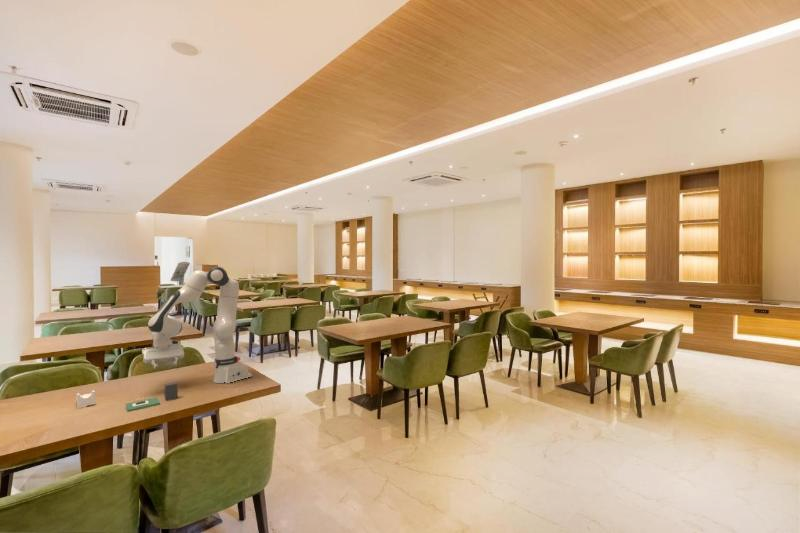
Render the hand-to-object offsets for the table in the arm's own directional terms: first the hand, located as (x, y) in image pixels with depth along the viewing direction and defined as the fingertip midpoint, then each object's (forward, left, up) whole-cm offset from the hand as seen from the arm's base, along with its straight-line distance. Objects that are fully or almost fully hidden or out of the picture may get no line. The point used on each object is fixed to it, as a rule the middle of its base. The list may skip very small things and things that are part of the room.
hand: (165, 366), depth 216 cm
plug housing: (-1, +11, -16) cm, 19 cm away
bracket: (+35, -13, -16) cm, 41 cm away
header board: (+12, +12, -16) cm, 23 cm away
